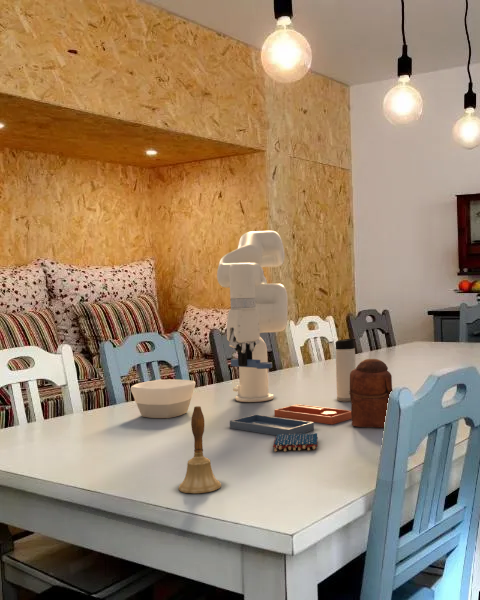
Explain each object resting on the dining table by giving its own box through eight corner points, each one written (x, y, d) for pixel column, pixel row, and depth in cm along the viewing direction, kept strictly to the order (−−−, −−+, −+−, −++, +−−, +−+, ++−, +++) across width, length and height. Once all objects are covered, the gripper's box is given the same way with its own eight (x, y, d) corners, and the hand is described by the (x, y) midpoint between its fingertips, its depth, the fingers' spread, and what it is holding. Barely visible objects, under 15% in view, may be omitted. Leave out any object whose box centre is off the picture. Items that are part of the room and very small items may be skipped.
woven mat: (275, 441, 179) (274, 433, 179) (318, 440, 178) (317, 432, 178) (272, 452, 168) (271, 443, 168) (317, 450, 168) (317, 442, 168)
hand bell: (180, 482, 146) (177, 404, 145) (221, 480, 146) (218, 402, 146) (176, 495, 138) (173, 412, 137) (220, 492, 138) (217, 409, 138)
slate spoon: (227, 366, 219) (227, 359, 219) (238, 365, 223) (237, 357, 223) (264, 369, 209) (264, 361, 209) (275, 367, 212) (275, 359, 212)
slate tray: (229, 428, 196) (229, 420, 196) (255, 421, 204) (255, 414, 204) (288, 437, 183) (288, 429, 183) (314, 429, 190) (313, 422, 190)
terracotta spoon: (287, 414, 210) (287, 406, 210) (298, 411, 214) (297, 404, 214) (330, 419, 200) (329, 411, 200) (340, 416, 204) (339, 409, 204)
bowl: (205, 410, 223) (204, 380, 223) (172, 422, 207) (170, 389, 207) (158, 407, 231) (156, 378, 230) (122, 418, 215) (120, 387, 214)
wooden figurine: (396, 423, 194) (394, 357, 194) (392, 429, 188) (390, 360, 187) (352, 422, 197) (350, 357, 197) (348, 428, 191) (346, 360, 191)
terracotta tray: (274, 416, 210) (274, 409, 210) (297, 410, 218) (296, 404, 218) (332, 424, 196) (331, 417, 196) (354, 417, 204) (354, 410, 204)
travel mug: (356, 401, 229) (354, 338, 228) (335, 401, 230) (333, 339, 230) (358, 398, 235) (356, 337, 234) (338, 398, 237) (336, 337, 236)
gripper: (252, 303, 225) (254, 361, 226) (215, 305, 213) (217, 367, 214) (270, 303, 220) (272, 363, 221) (233, 305, 208) (235, 369, 209)
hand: (245, 365), depth 217 cm, fingers closed on slate spoon, 1 cm apart
